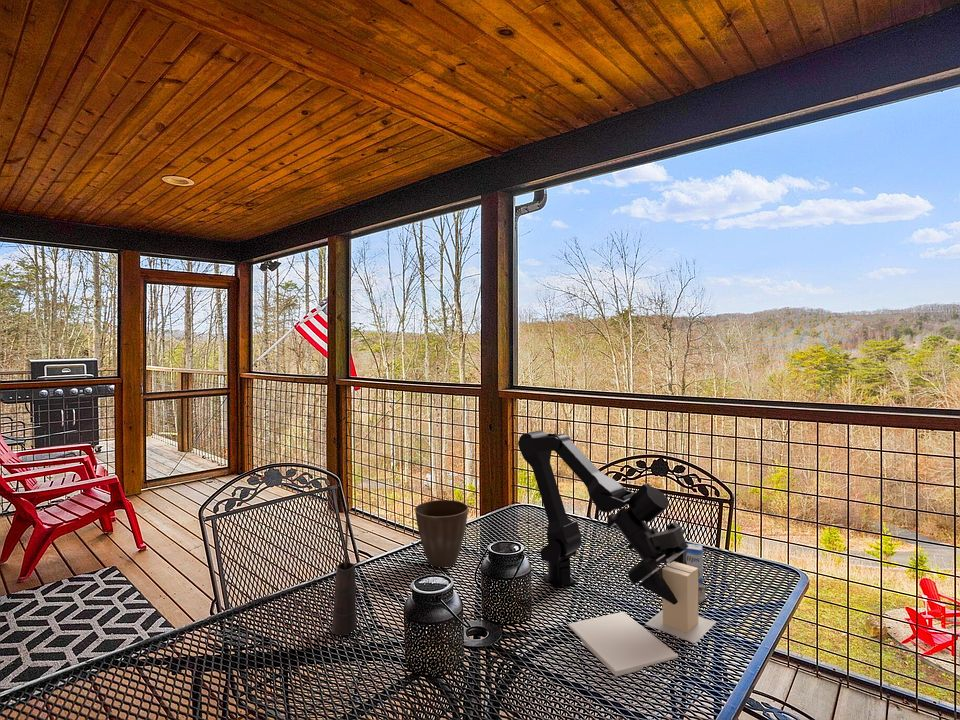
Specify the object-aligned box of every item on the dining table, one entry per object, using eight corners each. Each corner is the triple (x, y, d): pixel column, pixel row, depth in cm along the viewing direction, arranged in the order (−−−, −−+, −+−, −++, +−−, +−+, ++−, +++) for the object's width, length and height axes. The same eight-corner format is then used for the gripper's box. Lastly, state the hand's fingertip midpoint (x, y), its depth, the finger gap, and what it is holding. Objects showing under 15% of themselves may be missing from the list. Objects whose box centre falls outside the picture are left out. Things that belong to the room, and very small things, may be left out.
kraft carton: (662, 623, 116) (661, 568, 116) (673, 614, 120) (673, 560, 120) (687, 633, 112) (687, 575, 112) (698, 622, 116) (698, 567, 116)
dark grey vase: (342, 650, 109) (338, 514, 108) (310, 638, 114) (306, 508, 113) (373, 629, 117) (370, 502, 116) (342, 618, 122) (338, 496, 121)
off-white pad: (568, 628, 116) (568, 623, 116) (623, 615, 121) (623, 611, 121) (616, 676, 99) (616, 671, 99) (678, 660, 104) (678, 654, 104)
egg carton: (708, 606, 125) (708, 589, 125) (676, 605, 125) (676, 589, 125) (693, 585, 135) (693, 570, 135) (663, 585, 136) (663, 569, 136)
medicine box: (669, 579, 138) (669, 546, 138) (670, 572, 142) (670, 540, 142) (703, 584, 135) (702, 550, 135) (702, 577, 139) (702, 544, 139)
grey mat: (644, 626, 116) (644, 624, 116) (667, 607, 124) (667, 605, 124) (695, 645, 108) (695, 643, 108) (716, 624, 116) (716, 622, 116)
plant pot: (479, 559, 153) (478, 504, 153) (449, 580, 141) (447, 519, 140) (437, 549, 161) (436, 497, 161) (405, 568, 149) (403, 511, 148)
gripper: (640, 524, 112) (693, 592, 104) (679, 503, 125) (729, 563, 118) (607, 552, 117) (655, 618, 110) (648, 529, 131) (693, 587, 123)
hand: (685, 595), depth 115 cm, fingers open, 9 cm apart
